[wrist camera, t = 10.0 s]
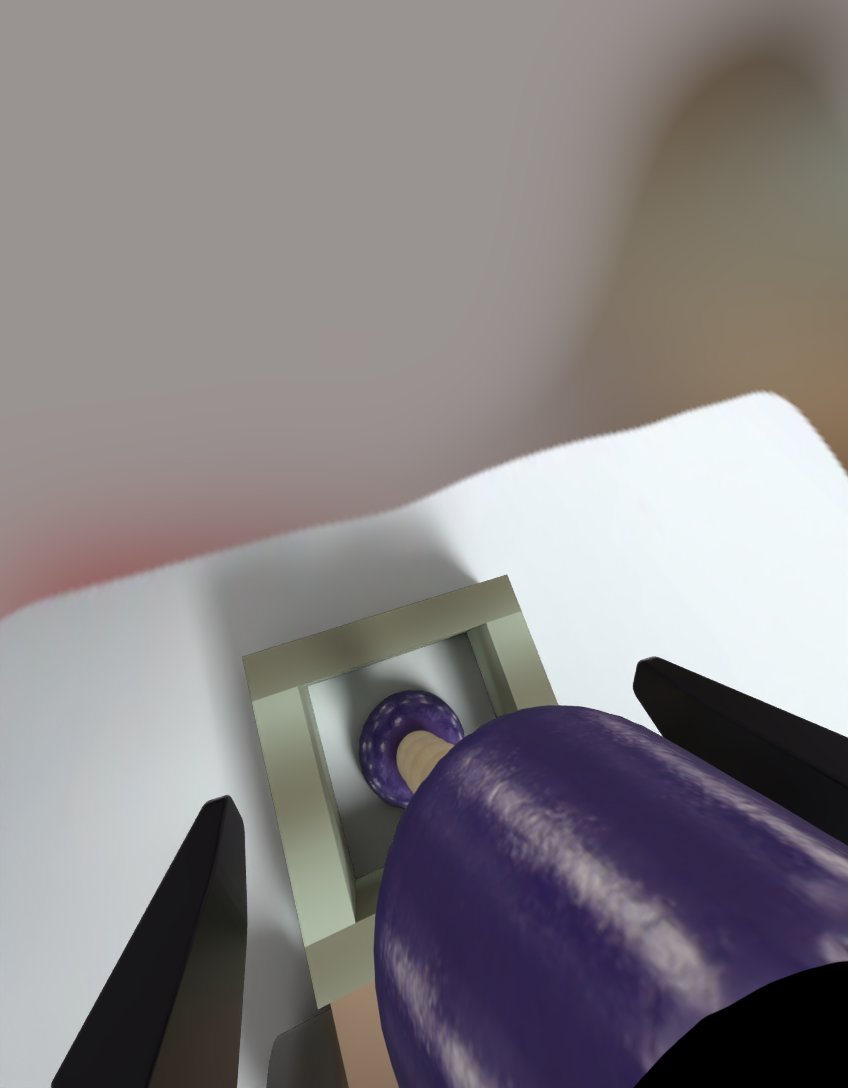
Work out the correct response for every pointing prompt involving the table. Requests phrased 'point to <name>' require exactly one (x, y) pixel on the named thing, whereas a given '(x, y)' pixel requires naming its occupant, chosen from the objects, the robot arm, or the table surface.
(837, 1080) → the toy lamp
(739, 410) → the table surface
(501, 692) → the chassis
